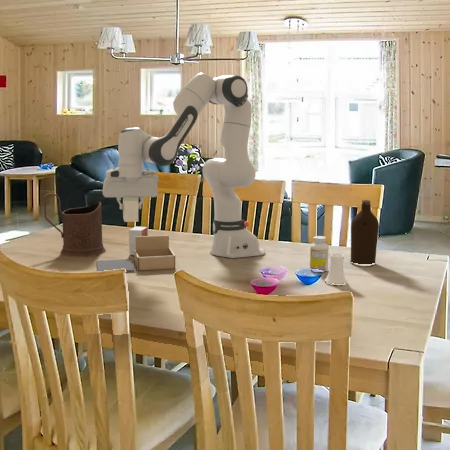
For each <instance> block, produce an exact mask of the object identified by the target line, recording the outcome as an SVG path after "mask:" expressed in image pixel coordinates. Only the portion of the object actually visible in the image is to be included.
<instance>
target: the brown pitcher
mask: <svg viewBox="0 0 450 450" xmlns="http://www.w3.org/2000/svg"><path fill="white" fill-rule="evenodd" d="M48 196H54V197H56V198H57V199H58V210H59V213H60V218H61V220H62V230H61V229H60V228H59V227H58V226H56V225H55V224H54V223H53V222H52V221H51V220H50V219H49V218H48V217H47V208H46V207H47V206H46V205H47V203H46V202H47V201H46V198H47V197H48ZM61 208H62V204H61V198H60V196H59V195H58V194H56V193H46V194H45V195H44V196H43V213H44V219H45V220H46V221H47V222H48V223H49V224H51V226H52V227H54V228H55V229H56V230H57V231H58V232H60V235H61V238H62V239H63V241H62V242H63V243H62V244H63V245H62V248H61V251H60V255H62V256H65V257H69V258H70V257H71V258H88V257H95V256H100V255H103V254H105V253H106V252H107V251H106V248H105V246H104V243H103V223H102V219H103V218H102V217H103V216H102V202H101V201H97V202H94V203H92V204H91V205H87V206H83V207H74V208H68V209H66V210H64V211H62V209H61Z"/></svg>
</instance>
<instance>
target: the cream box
mask: <svg viewBox="0 0 450 450" xmlns="http://www.w3.org/2000/svg"><path fill="white" fill-rule="evenodd" d="M139 200H140V197H122V204H124V209H122V218H123V222H125V223H129V222H132V223H134V222H139V209H138V204H139V202H140V201H139Z"/></svg>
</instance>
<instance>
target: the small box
mask: <svg viewBox="0 0 450 450" xmlns="http://www.w3.org/2000/svg"><path fill="white" fill-rule="evenodd" d="M148 228H149V227H148V226H134V227H132V228H130V229H129V230H128V246H129V247H128V252H129V256H135V254H134V249H136V239H135V237H142V236H149V234H148V232H149V229H148Z"/></svg>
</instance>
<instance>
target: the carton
mask: <svg viewBox="0 0 450 450" xmlns="http://www.w3.org/2000/svg"><path fill="white" fill-rule="evenodd" d="M135 239H136V249H134V254H135V255H134V263H135V266H136V269H137V271H138V272H139V271H140V270H141V271H153V270H154V271H157V270H173V269H176V254H175V253H174V252H173V250H172V248H171V247H170V235H148V236H142V237H135Z"/></svg>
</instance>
